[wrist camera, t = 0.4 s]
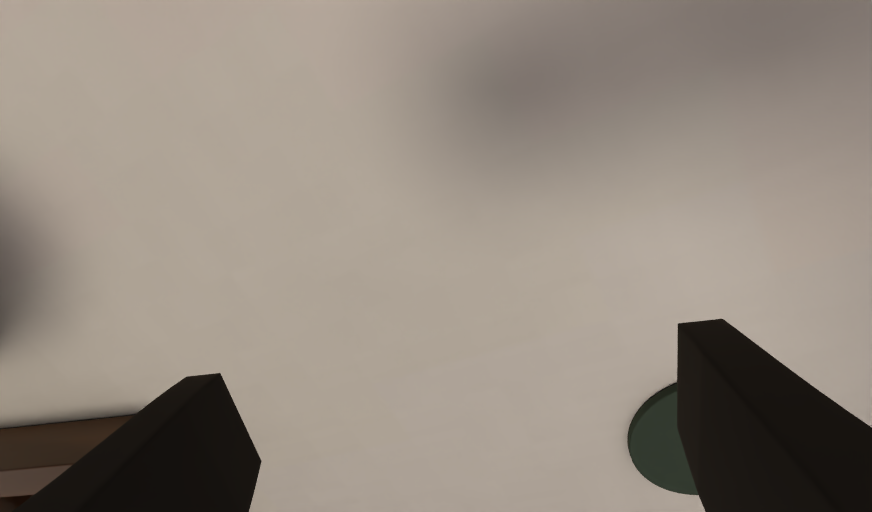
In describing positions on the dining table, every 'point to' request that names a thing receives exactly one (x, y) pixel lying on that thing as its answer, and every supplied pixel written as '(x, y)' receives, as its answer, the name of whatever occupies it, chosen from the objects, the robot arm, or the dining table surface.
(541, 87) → the dining table surface
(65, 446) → the holder
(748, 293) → the dining table surface
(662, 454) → the coaster
